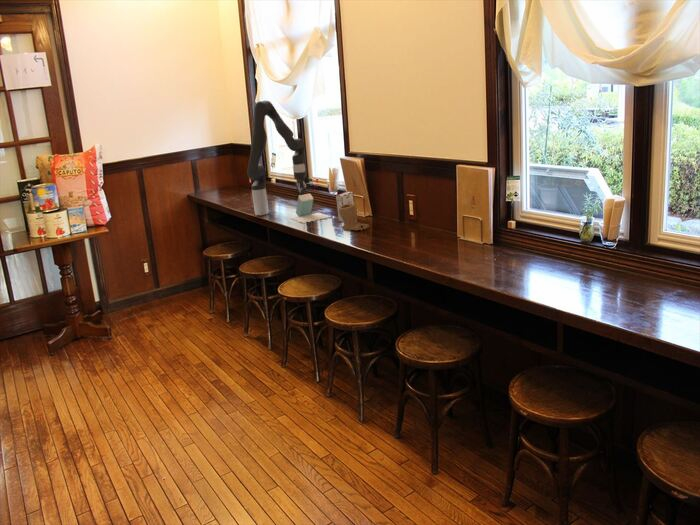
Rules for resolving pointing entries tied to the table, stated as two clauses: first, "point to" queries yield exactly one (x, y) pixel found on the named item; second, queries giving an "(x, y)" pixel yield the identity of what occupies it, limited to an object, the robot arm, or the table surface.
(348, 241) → the table surface
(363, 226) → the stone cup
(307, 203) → the teal block
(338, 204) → the candy bar box
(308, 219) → the mat
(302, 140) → the robot arm
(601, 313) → the table surface
